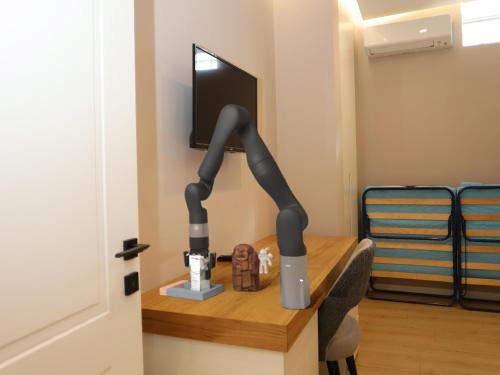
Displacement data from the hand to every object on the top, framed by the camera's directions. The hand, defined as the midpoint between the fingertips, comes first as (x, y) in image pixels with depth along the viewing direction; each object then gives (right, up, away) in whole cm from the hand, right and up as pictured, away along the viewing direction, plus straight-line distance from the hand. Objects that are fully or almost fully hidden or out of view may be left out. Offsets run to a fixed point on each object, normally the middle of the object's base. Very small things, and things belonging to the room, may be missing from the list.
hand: (200, 278), depth 150 cm
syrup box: (0, -5, 0) cm, 5 cm away
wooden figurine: (+17, -6, +4) cm, 19 cm away
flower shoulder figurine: (+25, -5, +32) cm, 41 cm away
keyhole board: (-3, -6, +2) cm, 7 cm away
